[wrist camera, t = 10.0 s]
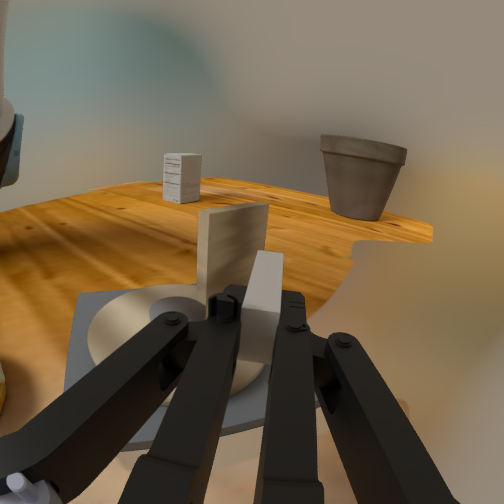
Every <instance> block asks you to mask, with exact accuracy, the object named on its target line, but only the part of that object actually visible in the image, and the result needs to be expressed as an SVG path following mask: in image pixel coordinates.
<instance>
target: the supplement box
mask: <svg viewBox="0 0 504 504" xmlns="http://www.w3.org/2000/svg"><path fill="white" fill-rule="evenodd" d="M201 160H202V155H200V154H190V153H172V154H164V176H163V200H166V201H170V202H173V203H177V204H182V203H188V202H193V201H198V200H200V178H201Z"/></svg>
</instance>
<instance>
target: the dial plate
mask: <svg viewBox="0 0 504 504" xmlns="http://www.w3.org/2000/svg"><path fill="white" fill-rule="evenodd" d="M190 285H197V284H190ZM134 290H137V289H128V290H115V291H101V292H86V293H79V294H78V299H77V303H76V308H75V313H74V319H73V324H72V330H71V336H70V342H69V349H68V356H67V364H66V373H65V383H64V392H65V391H66V390H68V389H69V388H70V387H71V386H72V385H74V384H75V383H76V382H77V381H79V380H80V379H81V378H82V377H83V376H85V375H86V374H87V373H88V372H90V371H91V370H92V369H93V368H94V367H95V366H94V364H93V361H92V358H91V355H90V351H89V348H88V341H87V336H88V330H89V326H90V324H91V322H92V320H93V318H94V317H95V315H96V314H97V313H98V311H99V310H101V309H102V308H103V307H104V306H105V305H106V304H108V303H109V302H110V301H112V300H114V299H115V298H117V297H119V296H121V295H123V294H126V293H128V292H131V291H134ZM270 369H271V364H266V365H265V366H264V368H263V370H262V372H261V373H260V374H259V375H258V376H257V377H256V379H255V380H253V381H252V382H251V383H250V384H249V385H248V386H246V387H245V388H243V389H242V390H240V391H238V392H237V393H235V394H233V395H230V396H229V400H228V404H227V408H226V412H225V416H224V420H223V424H222V429H221V433H220V437H221V436H226V435H230V434H234V433H238V432H242V431H246V430H250V429H253V428H257V427H261V426H264V420H265V411H266V403H267V394H268V385H269V384H268V380H269V374H270ZM318 407H321V406H320V404H319V401H318V398H317V396H316V393H315V408H318ZM167 408H168V406H164V405H160V407H159V408H158V409H157V410H156V411H155V412H154V414H153V415H152V416H151V417H150V418H149V419H148V420H147V422H146V423H145V424H144V425H143V426H142V427H141V429H140V430H139V431H138V432H137V433H136V434H135V435H134V436H133V438H132V439H131V440H130V441H129V442H128V443H127V444H126V445H125V447H124V448H123V449H122V450H121V451H120V452H124V451H135V450H145V449H150V448H151V445H152V443H153V441H154V438H155V436H156V434H157V431H158V429H159V427H160V424H161V422H162V420H163V417H164V415H165V413H166V410H167Z"/></svg>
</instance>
